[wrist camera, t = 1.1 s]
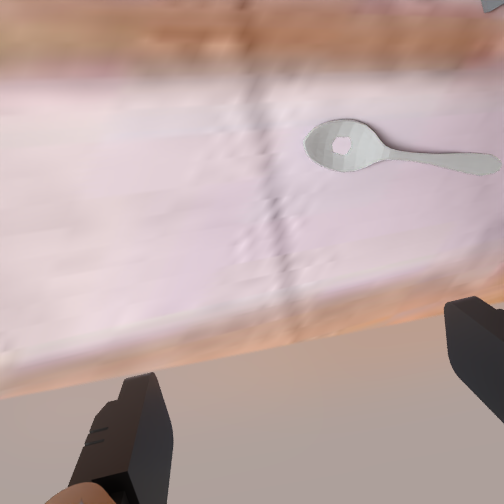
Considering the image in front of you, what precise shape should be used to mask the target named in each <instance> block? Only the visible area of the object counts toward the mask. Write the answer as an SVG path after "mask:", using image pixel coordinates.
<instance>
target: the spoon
mask: <svg viewBox="0 0 504 504" xmlns="http://www.w3.org/2000/svg"><path fill="white" fill-rule="evenodd" d="M336 137H349V138H350V141H351V148H350V150H349V151H348V153H347V154H345V155H341V154H338V153H335V152H333V148H332V143H333V142H334V140H335V139H336ZM303 146H304V149H305V152H306V154H307V156H308V157H309V158H310V159H311V160H312V161H313V162H315V163H316V164H318V165H320V166H322V167H324V168H327V169H330V170H334V171H338V172H354V171H357V170H360V169H363V168H366V167H368V166H370V165H371V164H374V163H376V162H379V161H382V160H402V161H413V162H419V163H425V164H431V165H435V166H439V167H443V168H446V169H450V170H454V171H459V172H463V173H467V174H473V175H478V176H483V175H489V174H493V173H495V172H497V171H499V170H500V168H501V166H502V163H501V161H500V160H499V159H498V158H496V157H495V156H493V155H491V154H478V153H448V154H426V153H412V152H405V151H398V150H394V149H391V148H389V147H387V146H385V145H384V144H383V143H382V142H381V140H380V139H379V138H378V136H377V135H376V133H375V132H374V131H373V130H372V129H371V128H370V127H368V126H367V125H366V124H364V123H361V122H358V121H356V120H336V121H330V122H327V123H323V124H321V125H319V126H317V127H315V128H314V129H313V130H311V131H310V132H309V133H308V135H307V136H306V137H305V139H304V141H303Z"/></svg>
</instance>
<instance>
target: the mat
mask: <svg viewBox="0 0 504 504" xmlns="http://www.w3.org/2000/svg"><path fill="white" fill-rule="evenodd" d="M481 2H482V6H483V10H484V13H485V12H490V11H492V10H493V9H495V8H497V7H499V6H500V5H502V4H504V0H481Z"/></svg>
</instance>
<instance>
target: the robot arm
mask: <svg viewBox="0 0 504 504" xmlns="http://www.w3.org/2000/svg"><path fill="white" fill-rule="evenodd" d="M444 317H445V327H446V338H447V348H448V356H449V360H450V363H451V365H452V368H453V370H454V371H455V373H456V374H457V376H458V377H459V378H460V379H461V380H462V381H463V382H464V383H465V384H466V385H467V386H468V387H469V388H470V389H471V390H472V391H473V392H474V393H475V394H476V395H477V397H479V399H480V400H482V402H484V403H485V405H486V406H487V407H488V408H489V409H490V410H491V411H492V412H493V413H494V414H495V415H496V416H497V417H498V418H499V419H500V420H501V421H502V422H503V423H504V310H502V309H497V310H496V309H495V308H493V307H492V306H490V305H489V304H487V303H486V302H484V301H482V300H481V299H479V298H478V297H476V296H472V297H468V298H464V299H460V300H455V301H451V302H447V303H446V304H445V307H444ZM172 451H173V430H172V425H171V421H170V418H169V414H168V411H167V408H166V405H165V402H164V399H163V396H162V393H161V389H160V386H159V383H158V380H157V377H156V376H155V374H154V373H153V372H151V373H147V374H143V375H138V376H134V377H130V378H126V379H125V380H124V382H123V385H122V388H121V391H120V394H119V397H118V400H115V401H111V402H108V403H107V404H106V405H105V406H104V407H103V408H102V410H101V411H100V412H99V413H98V414H97V415H96V416H95V418H94V421H93V423H92V426H91V429H90V434H88V436H87V439H86V441H85V447H83V449H82V452H81V454H80V457H79V459H78V462H77V464H76V467H75V470H74V472H73V475H72V477H71V480H70V482H69V485H68V487H67V488H66V489H64V490H62V491H60V492H59V493H57V494H56V495H54V496H53V497H52V498H50V499H49V500H48V501H47V502H46V503H45V504H167V496H168V487H169V478H170V469H171V461H172Z"/></svg>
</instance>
